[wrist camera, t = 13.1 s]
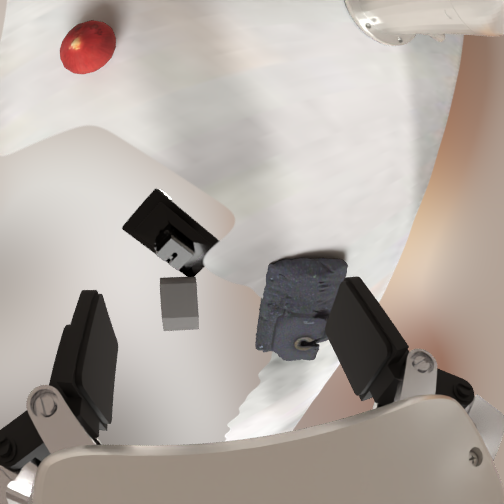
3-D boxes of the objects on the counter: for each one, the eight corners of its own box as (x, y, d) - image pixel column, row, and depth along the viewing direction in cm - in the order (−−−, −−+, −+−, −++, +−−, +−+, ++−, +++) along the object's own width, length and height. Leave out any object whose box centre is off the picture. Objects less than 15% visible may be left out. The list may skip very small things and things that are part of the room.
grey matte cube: (195, 275, 41) (198, 296, 37) (195, 308, 44) (198, 329, 40) (160, 276, 39) (159, 298, 36) (163, 309, 43) (163, 331, 39)
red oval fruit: (73, 35, 20) (46, 23, 14) (121, 22, 21) (105, 4, 15) (75, 80, 23) (46, 80, 17) (122, 68, 24) (105, 62, 18)
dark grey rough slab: (354, 249, 46) (369, 265, 42) (325, 341, 57) (334, 358, 53) (264, 255, 42) (274, 274, 38) (253, 353, 54) (259, 373, 50)
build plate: (121, 227, 35) (115, 245, 31) (157, 185, 33) (155, 199, 30) (190, 278, 41) (193, 298, 38) (227, 244, 40) (233, 262, 36)
